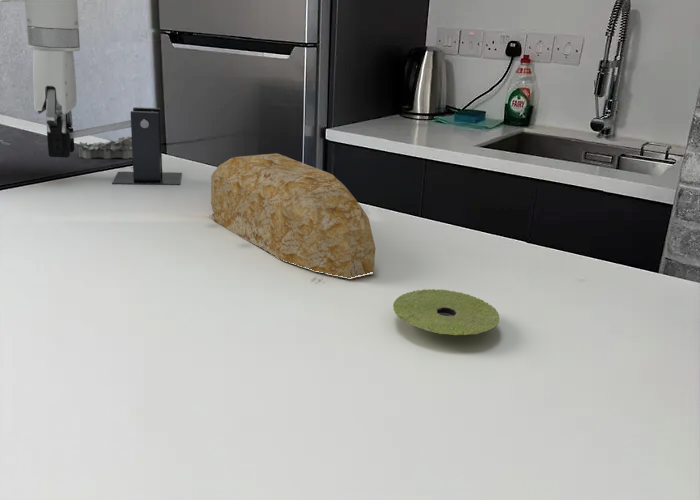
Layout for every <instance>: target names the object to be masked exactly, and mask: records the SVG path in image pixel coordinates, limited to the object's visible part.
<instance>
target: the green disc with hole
mask: <svg viewBox="0 0 700 500" xmlns="http://www.w3.org/2000/svg"><path fill="white" fill-rule="evenodd" d="M392 304H393V305H392V307H393V312H394V313H395V315H396V316H397V317H398V318H399V319H400V320H401V321H403V322H404V323H406V324H408V325H410V326H414V327H416V328H418V329H421V330H424V331H427V332H431V333H436V334H439V335H452V336H467V335H479V334H482V333H485V332H487V331H490V330H492V329H494V328H495V327H497V326H498V324H499V322H500V319H501V317H500V313H499V312H498V311H497V309H496V308H495V306H493V305H492V304H489V303H488V302H487V301H484V300H483V299H480V298H478V297H476V296H473V295H470V294H468V293H464V292H459V291H454V290H448V289H433V288H432V289H425V288H424V289H421V290H420V289H417V290H413V291H409V292H406V293H404V294H401V295H399V296H398V297H397V298H395V300H394V301H393V303H392Z"/></svg>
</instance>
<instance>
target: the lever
mask: <svg viewBox="0 0 700 500" xmlns="http://www.w3.org/2000/svg"><path fill="white" fill-rule="evenodd" d="M152 112H153V111H152ZM129 128H130V129H131V119H130V120H125V121H119V122H113V123H109V124H104V125H99V126H98V125H97V126H92V127H89V128H83V129H77V130H73V131H71V132H70V131H69V130H67V129H66V133H69V143H70V142H71V139H72V138H74V139H78V138H81V137H82V138H83V137H87V136H92V135H97V134H103V133H108V132H113V131H118V130H119V131H120V130H124V129H129Z"/></svg>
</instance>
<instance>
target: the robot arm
mask: <svg viewBox="0 0 700 500" xmlns="http://www.w3.org/2000/svg"><path fill="white" fill-rule="evenodd" d="M12 2H13V3H17V2H24V8H25V9H24V10H25V19H26V21H25V22H26V33H27V45H28V49H30V50H33V54H32V86H33V88H32V89H33V107H34V109H33V110H34V112H35V113H36V114H39V115H40V114H42V113H43V112H45V119H46V139H47V152H48V157H50V158H69V157H70V156H71V153H74V152H75V138H72V139H71V142H70V143H69V133H66V129H67V130H69V131H70V132H71V131H74V128H73V114H72V110H73V109H75V108H76V105H77V78H76V77H77V76H76V67H75V56H74V52H78V51H81V47H80V46H81V44H80V29H79V28H80V27H79V26H80V25H79V11H78V9H79V8H78V0H0V3H12Z"/></svg>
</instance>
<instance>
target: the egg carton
mask: <svg viewBox="0 0 700 500" xmlns="http://www.w3.org/2000/svg"><path fill="white" fill-rule="evenodd" d="M77 147H79V148H78V156H79V158H84V159H90V160H91V159H93V158H94V159H95V158H102V159H104V160H106V159H108V160H110V159H113V158H120V159H123V160H126V159H127V160H128V159H133V156H132V136H126V137H125V136H123V137H119V138H118V140H111V139H110V141H107V142H101V141H100V142H93V143H89V144H88V142H82V141H79V143H78V144H77Z"/></svg>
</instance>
